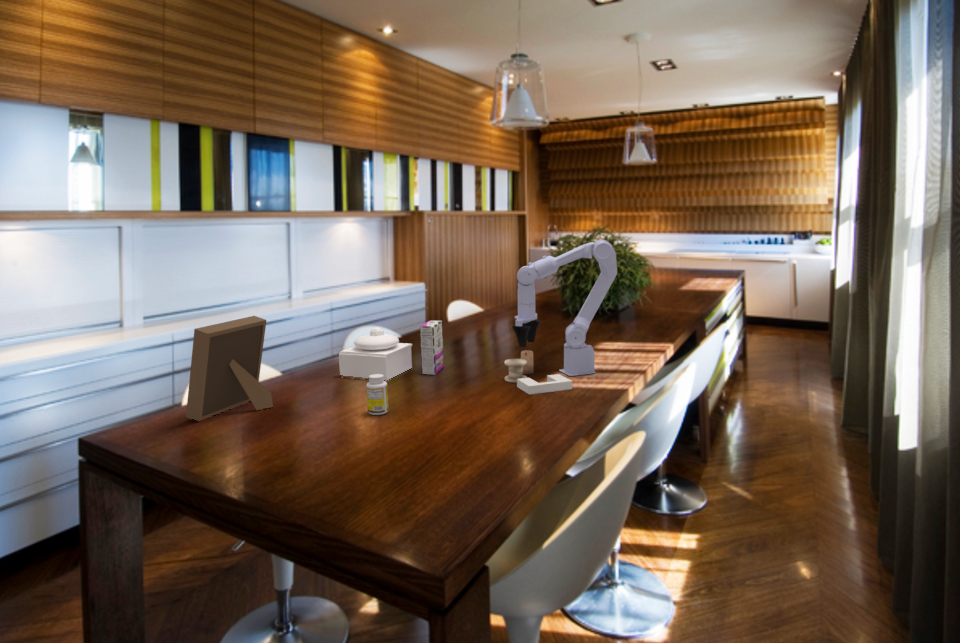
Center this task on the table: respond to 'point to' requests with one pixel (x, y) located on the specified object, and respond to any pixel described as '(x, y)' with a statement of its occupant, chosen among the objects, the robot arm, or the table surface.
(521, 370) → the bobbin
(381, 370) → the butter dish
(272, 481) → the table surface
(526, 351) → the copper peg
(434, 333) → the candy bar box
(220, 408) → the photo frame
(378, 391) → the supplement bottle
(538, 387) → the notched board
